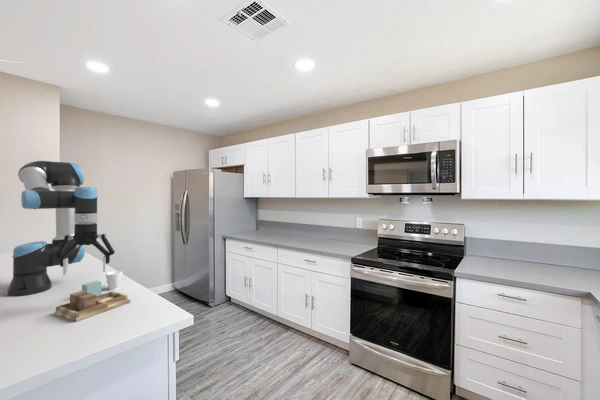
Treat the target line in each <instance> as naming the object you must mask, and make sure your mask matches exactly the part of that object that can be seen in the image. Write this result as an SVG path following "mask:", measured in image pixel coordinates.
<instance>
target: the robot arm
mask: <svg viewBox="0 0 600 400" xmlns="http://www.w3.org/2000/svg"><path fill="white" fill-rule="evenodd" d="M17 175H18V179H19V181H20V182H21V183H23V186H24V189H25V190H23V191H21V197H20V199H21V201H20V202H21V207H22V208H23V209H25V210H26V209H27V210H46V209H47V210H48V209H51V210H52V209H55V237H54V238H52V239H51V243H48V242H47V241H45V240H40V241H33V242H28V243H23V244H19V245H17V246H15V247H14V248H13V250H12V253H13V254H12V258H13V260H12V261H13V262H12V263H13V264H12V265H13V266H12V279H11V281H10V284H9V286H8V288H7V296H11V297H19V296H28V295H29V296H30V295H34V294H38V293H42V292H45V291H48V290H50V289H51V288H52V286H53V285H52V281H51V279H50V276H49V275H48V267H49V268H50V267H55V266H60V268H62V273H63V274H62V275H63V276H66V275H67V274H68V273H69V265H71V264H76V263H80V262H81V261H82V260H83V259H84V257H85V254H86V246H90V245H92V246H94V247H95V248H96V249H97V250H98V251H99V252H101V254H103V257H102V268H103V269H102V272H103V273H105V272H107V269H108V264H109V263H110V261H111V260H110V259H111V256H112V255H114V254H115V253H116V252H115V250H114V248H113V246H112V245H111V243H110V241H109V240H108V239H107V234H106V233H100V234H98V223H97V222H98V197H99V194H98V189H97V188H96V187H94V186H90V187H89V186H82V185H83V184H84V179H85V177H84V172H83V168H82V167H81V165H80V164H79V163H74V162H64V161H48V160H37V161H36V160H35V161H31V162H28V163H26V164H24V165H23V166H21V168H19V170H18V174H17ZM49 185H50V186H49ZM50 187H51V189H52V190H51V189H50ZM97 239H100V240H101V241H102V242H103V244H104V246H105V247H106V248H105V247H104V246H103V245H102V244H101V243H100V242H99V241H98V240H97Z"/></svg>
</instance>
